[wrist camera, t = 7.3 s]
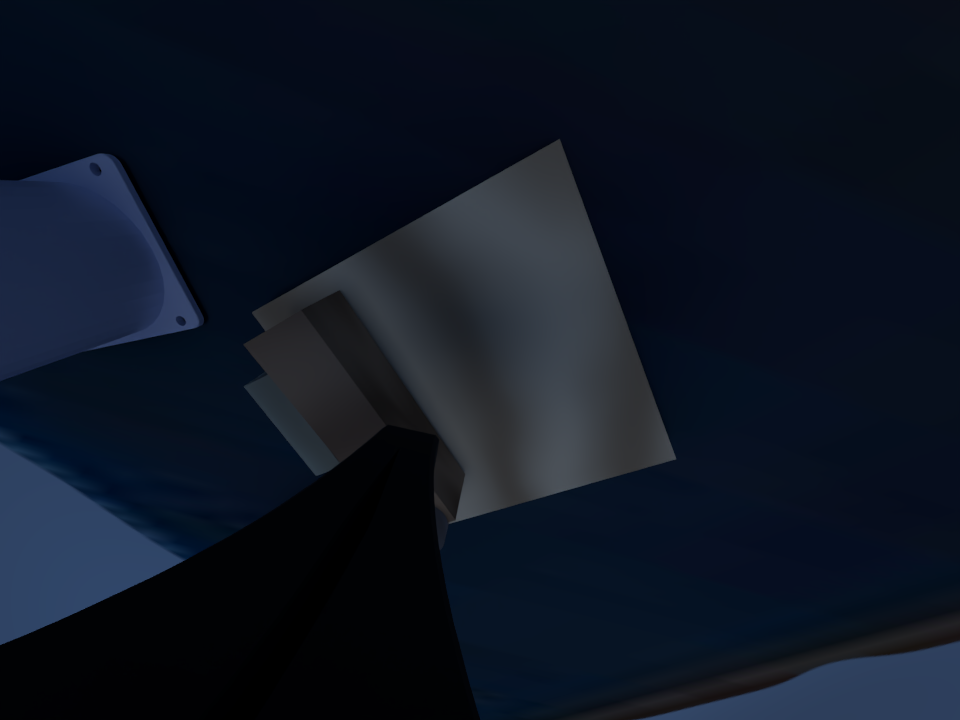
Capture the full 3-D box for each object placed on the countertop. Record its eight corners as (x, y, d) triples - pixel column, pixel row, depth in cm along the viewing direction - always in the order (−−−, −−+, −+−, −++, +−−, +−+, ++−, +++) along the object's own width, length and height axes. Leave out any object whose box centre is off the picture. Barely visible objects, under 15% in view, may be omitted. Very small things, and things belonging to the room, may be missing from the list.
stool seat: (421, 513, 23) (399, 581, 19) (272, 303, 18) (199, 335, 14) (665, 440, 19) (703, 507, 15) (556, 144, 14) (569, 123, 10)
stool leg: (471, 483, 19) (460, 545, 16) (424, 500, 20) (404, 562, 17) (339, 289, 16) (287, 316, 12) (289, 320, 17) (227, 353, 13)
